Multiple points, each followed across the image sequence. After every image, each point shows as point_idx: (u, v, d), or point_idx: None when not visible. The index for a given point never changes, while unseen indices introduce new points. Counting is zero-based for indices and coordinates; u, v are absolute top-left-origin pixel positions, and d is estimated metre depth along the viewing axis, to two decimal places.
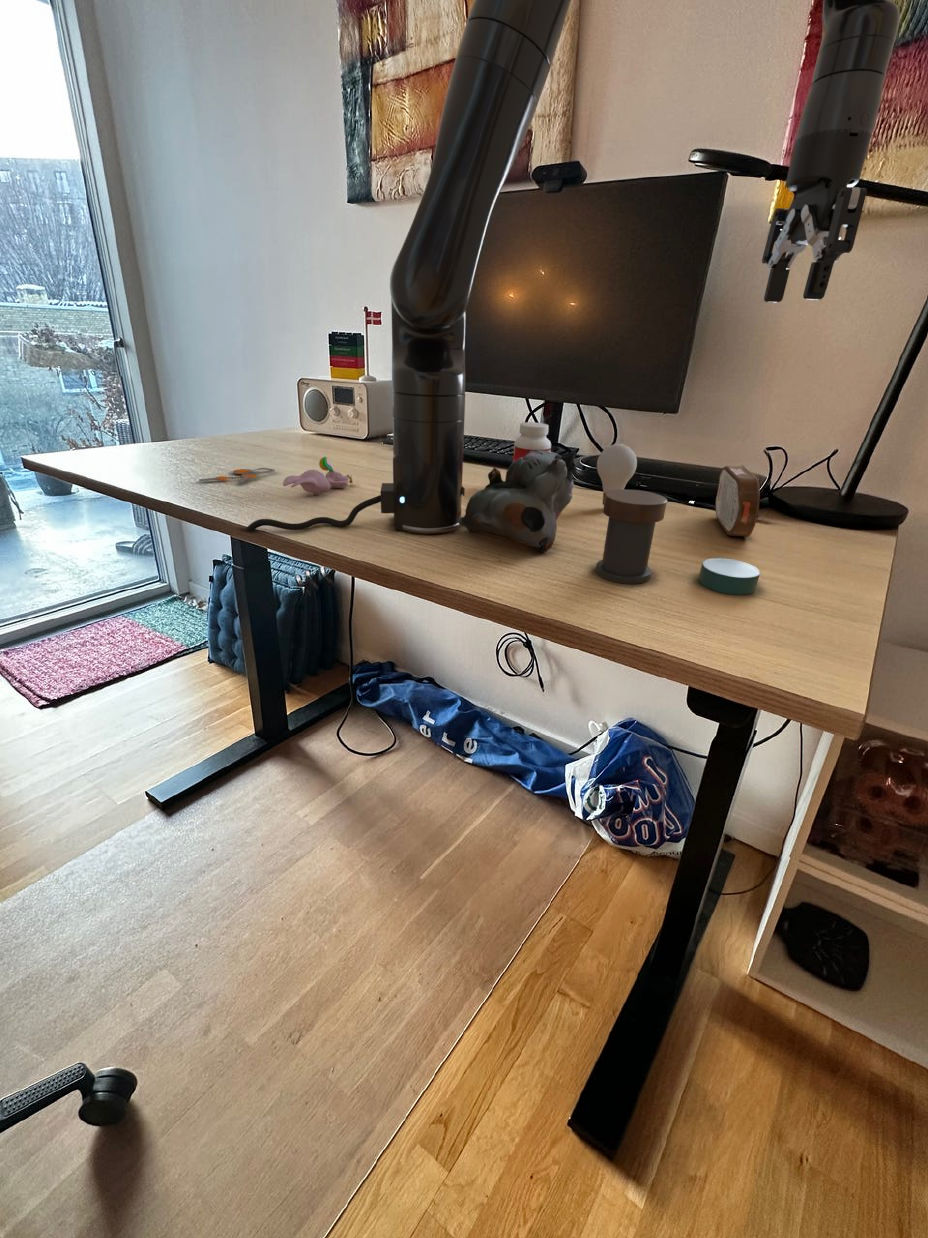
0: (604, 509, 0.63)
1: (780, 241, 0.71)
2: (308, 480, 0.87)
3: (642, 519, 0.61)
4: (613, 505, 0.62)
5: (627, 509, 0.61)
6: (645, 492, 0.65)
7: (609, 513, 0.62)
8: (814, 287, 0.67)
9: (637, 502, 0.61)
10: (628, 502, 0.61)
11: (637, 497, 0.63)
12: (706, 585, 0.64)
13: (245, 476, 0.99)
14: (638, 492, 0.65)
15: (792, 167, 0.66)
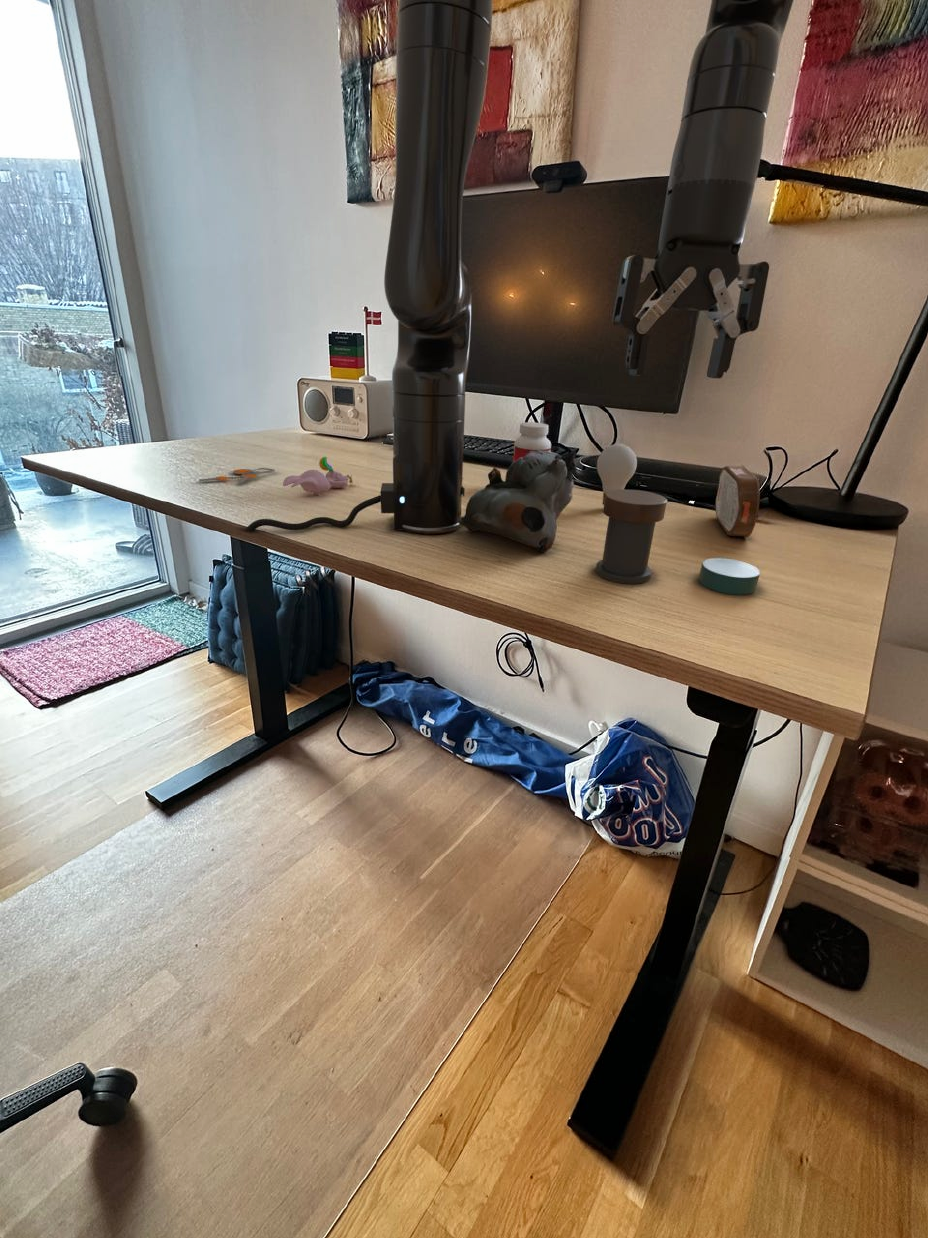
0: (604, 509, 0.63)
1: None
2: (308, 480, 0.87)
3: (642, 519, 0.61)
4: (613, 505, 0.62)
5: (627, 509, 0.61)
6: (645, 492, 0.65)
7: (609, 513, 0.62)
8: None
9: (637, 502, 0.61)
10: (628, 502, 0.61)
11: (637, 497, 0.63)
12: (706, 585, 0.64)
13: (245, 476, 0.99)
14: (638, 492, 0.65)
15: None
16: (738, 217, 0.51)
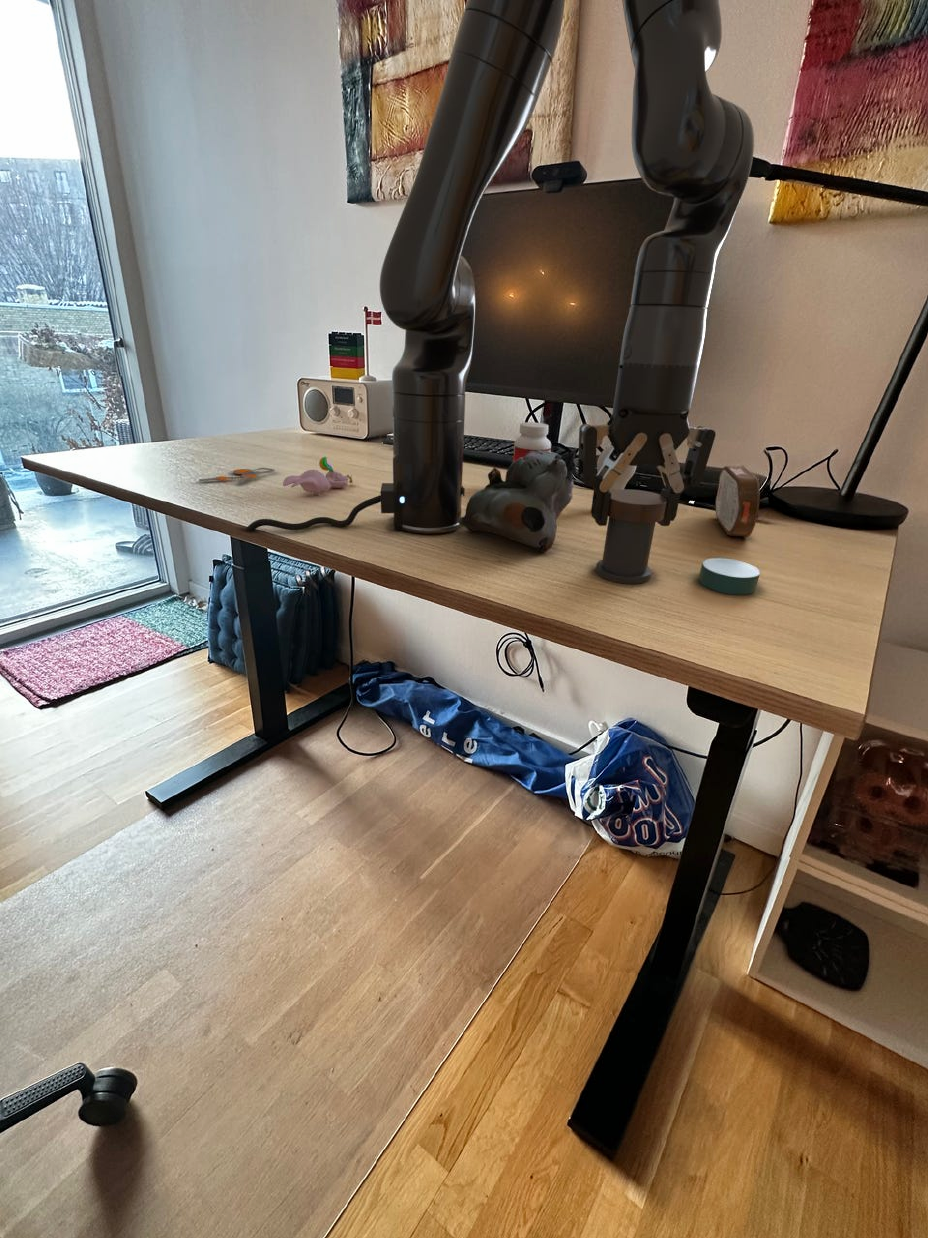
0: None
1: None
2: (308, 480, 0.87)
3: (642, 519, 0.61)
4: (614, 505, 0.62)
5: (628, 509, 0.61)
6: (645, 492, 0.65)
7: (609, 513, 0.62)
8: None
9: (637, 502, 0.61)
10: (628, 502, 0.61)
11: (637, 497, 0.63)
12: (706, 585, 0.64)
13: (245, 476, 0.99)
14: (638, 492, 0.65)
15: None
16: (683, 394, 0.55)
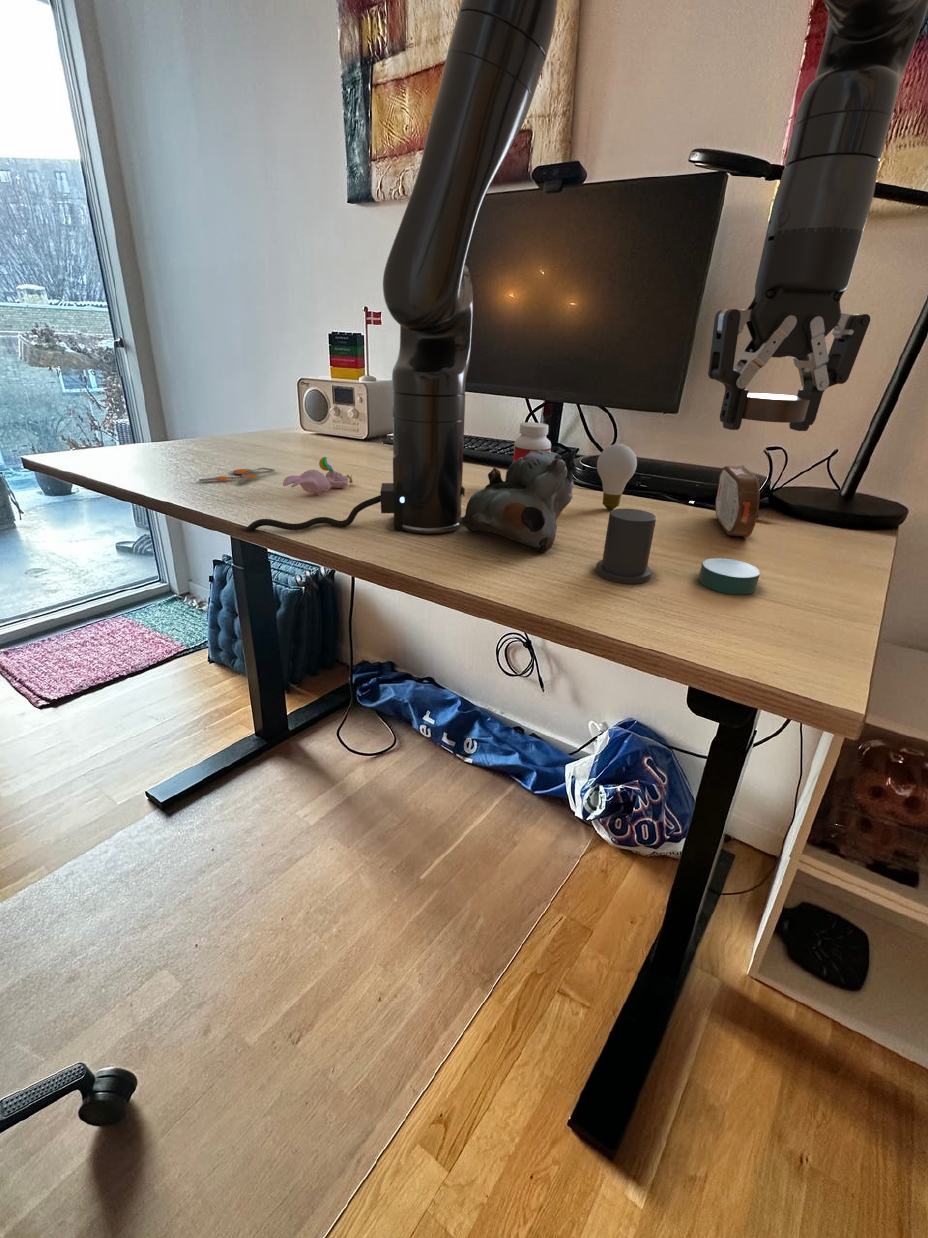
0: None
1: None
2: (308, 480, 0.87)
3: (785, 417, 0.54)
4: (751, 403, 0.55)
5: (769, 407, 0.54)
6: (779, 394, 0.58)
7: (744, 414, 0.56)
8: None
9: (780, 399, 0.54)
10: (769, 398, 0.54)
11: (775, 396, 0.56)
12: (706, 585, 0.64)
13: (245, 476, 0.99)
14: (771, 394, 0.58)
15: None
16: (847, 265, 0.49)
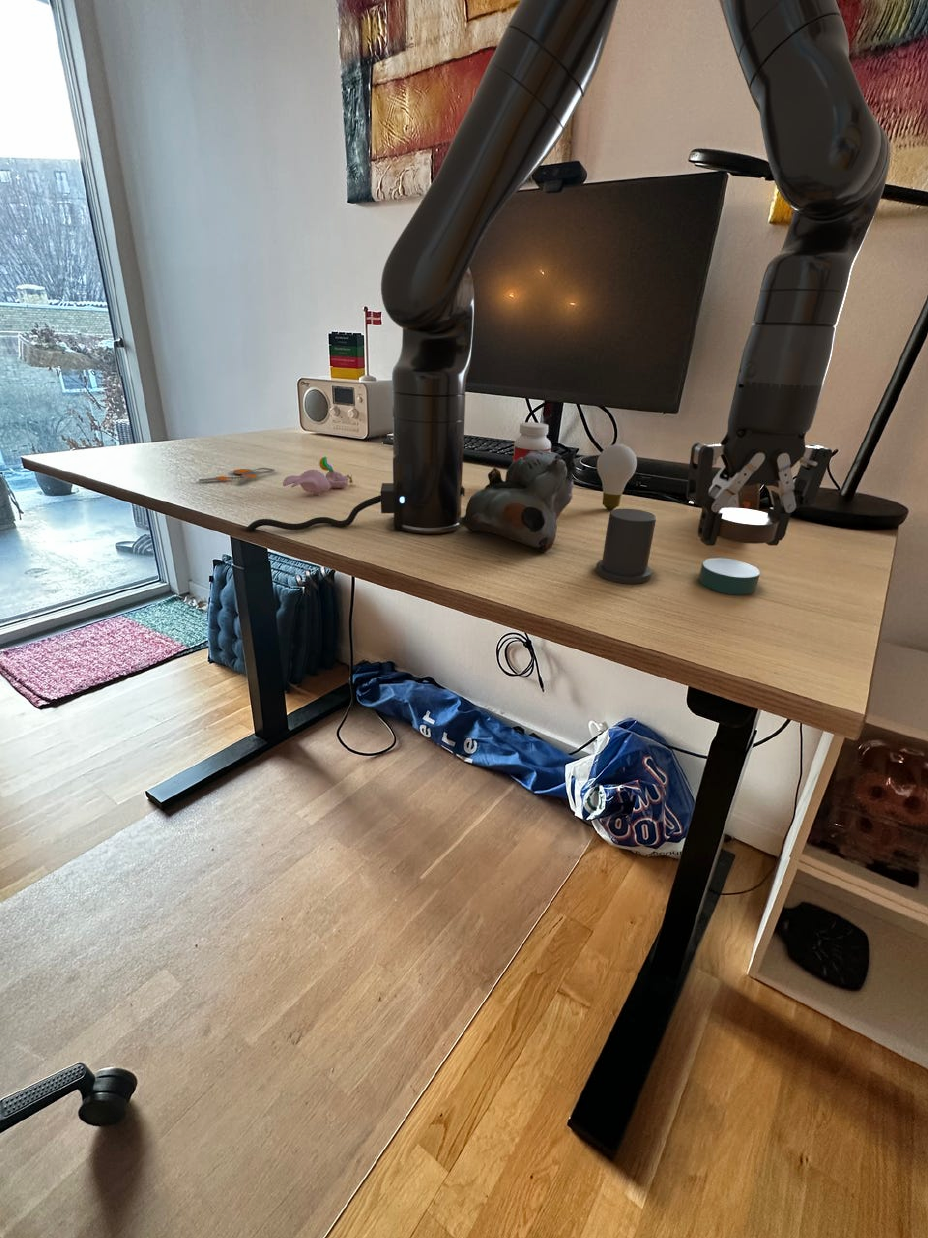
0: None
1: None
2: (308, 480, 0.87)
3: (756, 539, 0.60)
4: (725, 525, 0.60)
5: (741, 530, 0.59)
6: (751, 510, 0.64)
7: (719, 533, 0.61)
8: None
9: (751, 522, 0.60)
10: (741, 522, 0.60)
11: (747, 516, 0.61)
12: (706, 585, 0.64)
13: (245, 476, 0.99)
14: (745, 511, 0.63)
15: None
16: (808, 414, 0.54)
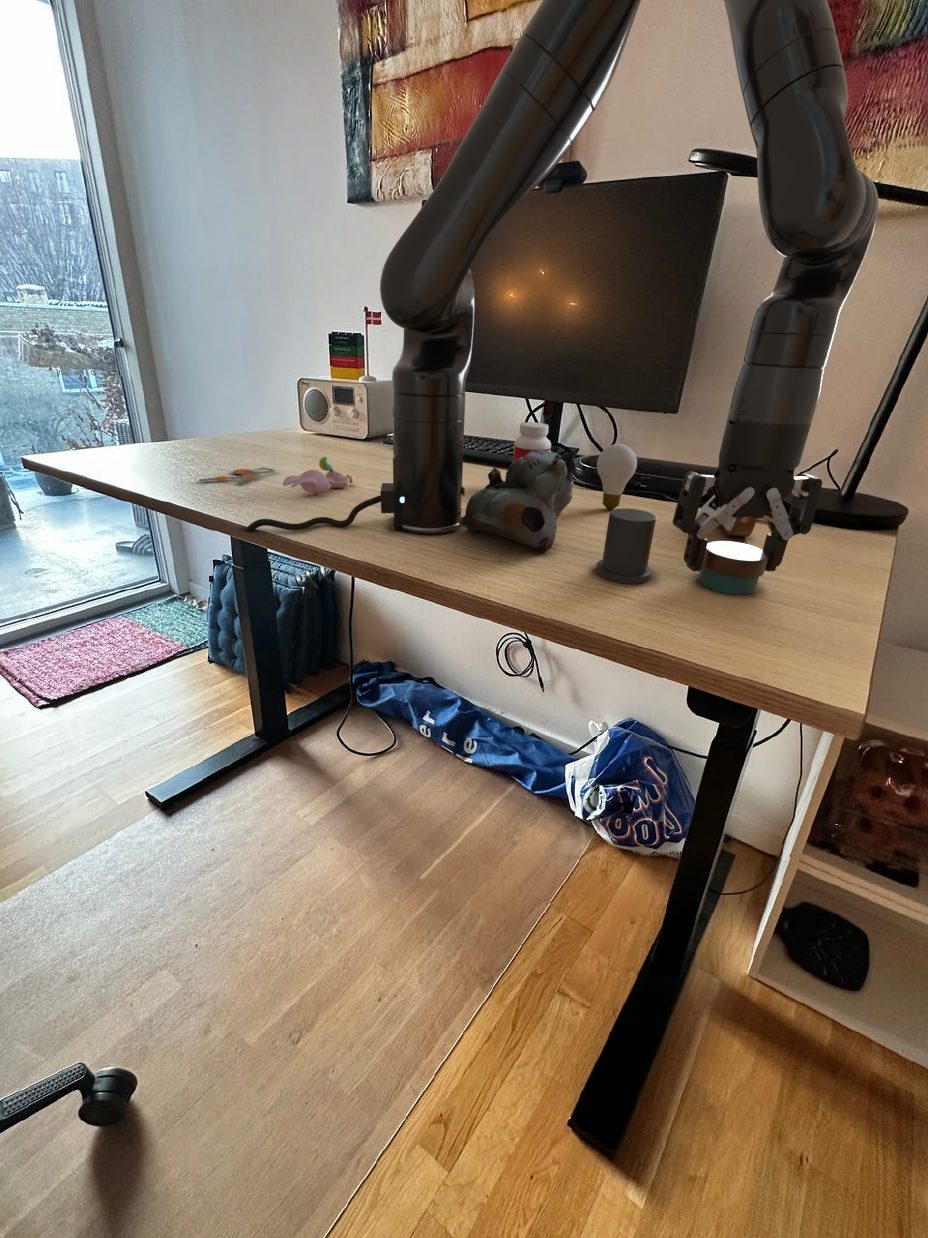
0: (704, 562, 0.64)
1: None
2: (308, 480, 0.87)
3: (746, 575, 0.61)
4: (716, 559, 0.62)
5: (732, 565, 0.61)
6: (743, 544, 0.65)
7: (711, 567, 0.63)
8: None
9: (741, 558, 0.61)
10: (732, 557, 0.61)
11: (738, 551, 0.63)
12: (706, 585, 0.64)
13: (245, 476, 0.99)
14: (736, 544, 0.65)
15: None
16: (797, 452, 0.56)
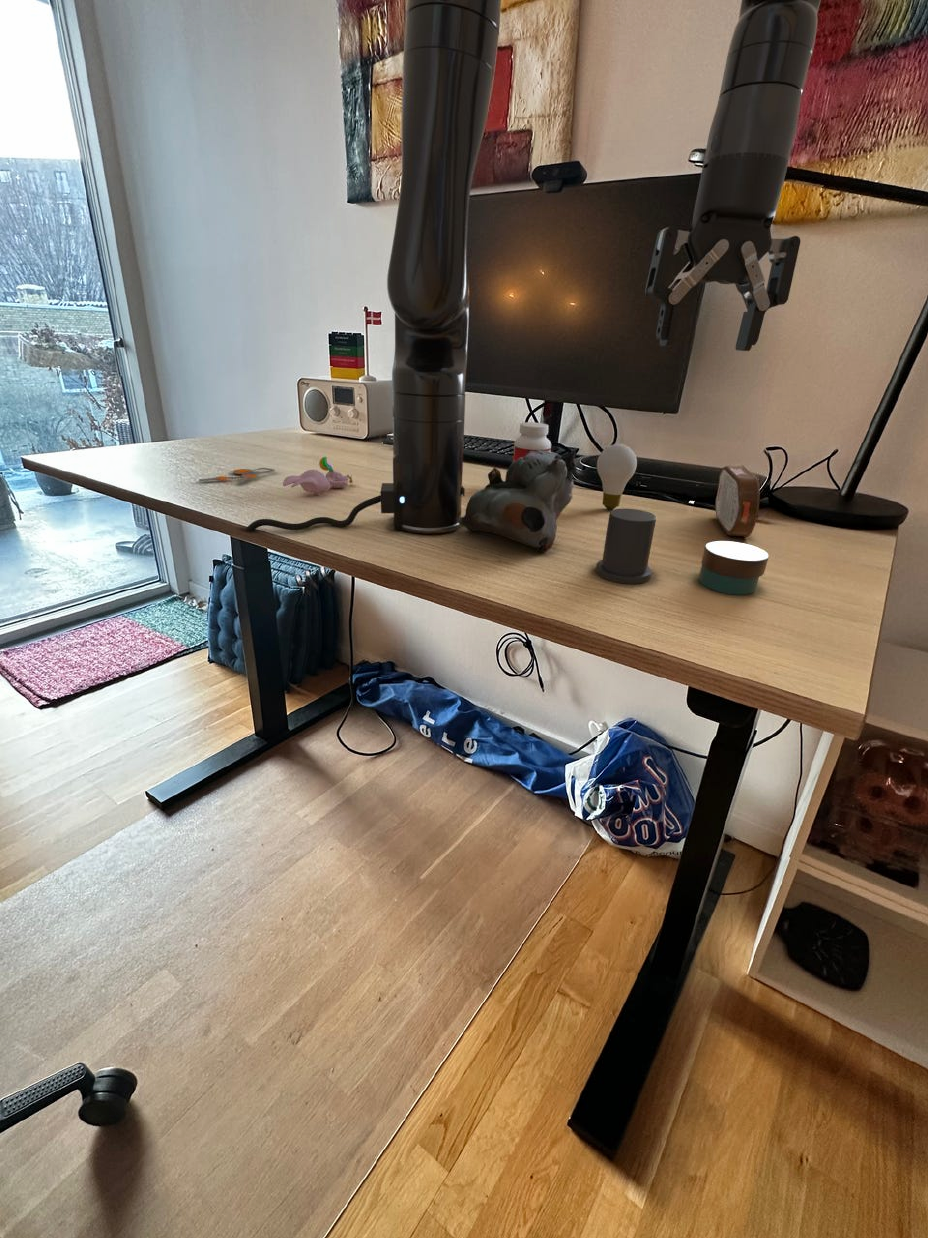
0: (704, 562, 0.64)
1: None
2: (308, 480, 0.87)
3: (746, 575, 0.61)
4: (716, 559, 0.62)
5: (732, 565, 0.61)
6: (743, 544, 0.65)
7: (711, 567, 0.63)
8: None
9: (741, 558, 0.61)
10: (732, 557, 0.61)
11: (738, 551, 0.63)
12: (706, 585, 0.64)
13: (245, 476, 0.99)
14: (736, 544, 0.65)
15: None
16: (772, 190, 0.53)
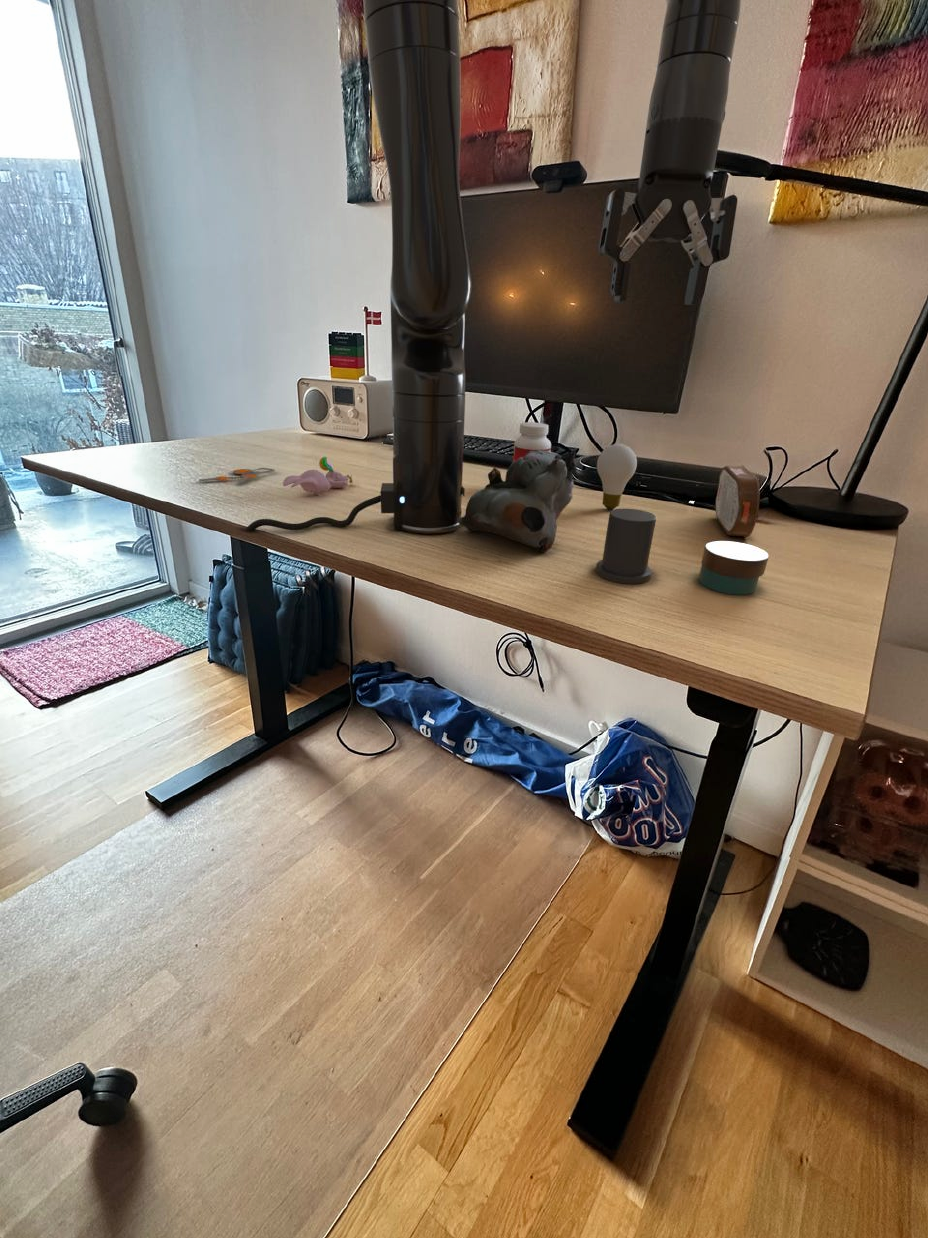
0: (704, 562, 0.64)
1: (683, 240, 0.66)
2: (308, 480, 0.87)
3: (746, 575, 0.61)
4: (716, 559, 0.62)
5: (732, 565, 0.61)
6: (743, 544, 0.65)
7: (711, 567, 0.63)
8: None
9: (741, 558, 0.61)
10: (732, 557, 0.61)
11: (738, 551, 0.63)
12: (706, 585, 0.64)
13: (245, 476, 0.99)
14: (736, 544, 0.65)
15: None
16: (707, 151, 0.58)
